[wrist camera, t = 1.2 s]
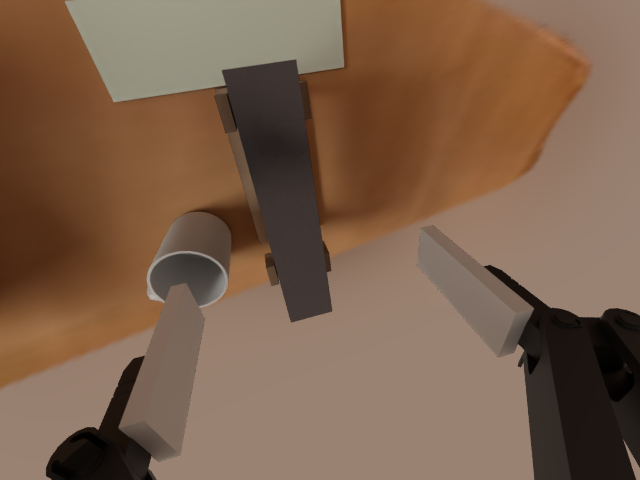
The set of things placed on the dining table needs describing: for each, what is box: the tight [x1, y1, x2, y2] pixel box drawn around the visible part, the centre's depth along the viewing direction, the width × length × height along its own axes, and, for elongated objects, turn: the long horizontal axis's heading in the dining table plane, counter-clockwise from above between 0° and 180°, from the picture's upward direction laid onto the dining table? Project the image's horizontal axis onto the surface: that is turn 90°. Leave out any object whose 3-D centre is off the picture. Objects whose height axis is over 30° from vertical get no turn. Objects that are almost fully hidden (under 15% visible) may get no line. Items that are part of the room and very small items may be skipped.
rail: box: [222, 59, 332, 322], centre depth 22 cm, size 4×20×6 cm, turn 8°
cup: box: [147, 212, 232, 308], centre depth 30 cm, size 7×10×9 cm
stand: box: [214, 81, 331, 286], centre depth 27 cm, size 8×18×10 cm, turn 8°
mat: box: [64, 0, 344, 102], centre depth 24 cm, size 22×7×1 cm, turn 98°
